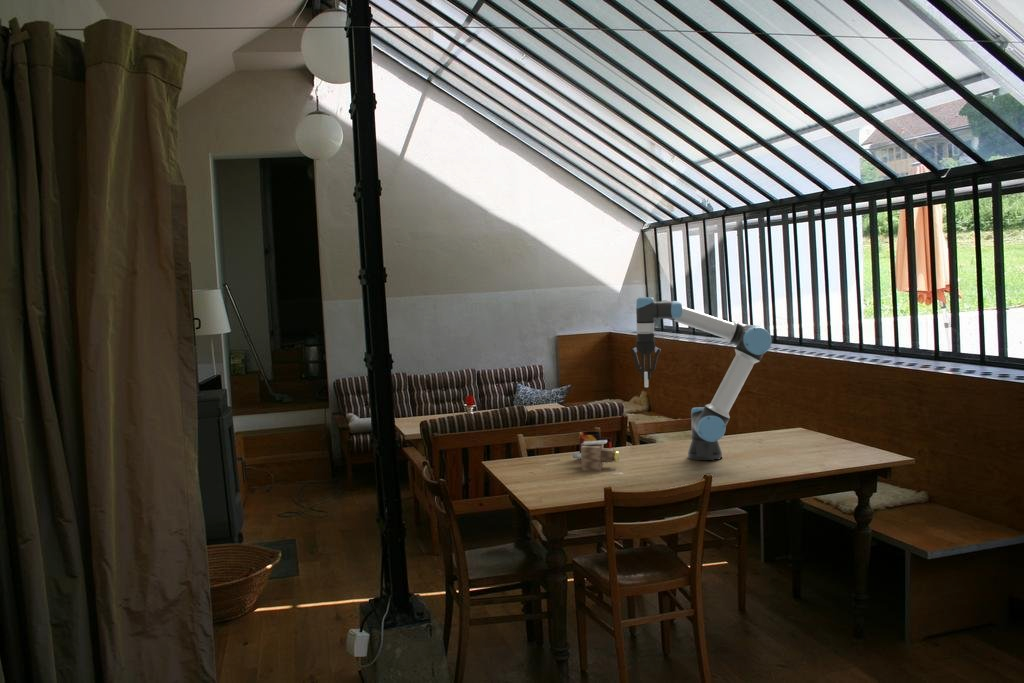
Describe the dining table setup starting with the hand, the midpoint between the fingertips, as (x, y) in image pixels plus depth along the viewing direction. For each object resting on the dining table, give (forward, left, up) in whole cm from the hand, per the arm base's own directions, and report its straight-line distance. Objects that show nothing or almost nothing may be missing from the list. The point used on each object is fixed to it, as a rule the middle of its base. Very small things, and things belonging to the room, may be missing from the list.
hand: (646, 386), depth 366 cm
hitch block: (+21, +8, -34) cm, 41 cm away
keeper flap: (+22, +8, -24) cm, 33 cm away
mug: (+25, -10, -35) cm, 44 cm away
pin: (+22, +8, -32) cm, 39 cm away
